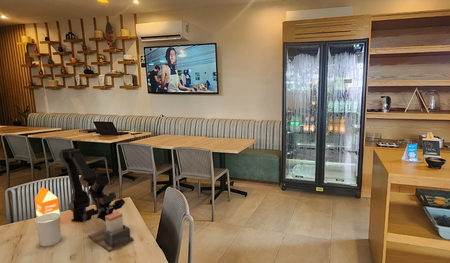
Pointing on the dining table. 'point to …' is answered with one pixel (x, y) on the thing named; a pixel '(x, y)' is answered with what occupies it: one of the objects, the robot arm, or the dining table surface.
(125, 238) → the switch base
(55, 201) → the orange juice
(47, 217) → the white cup
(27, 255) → the dining table surface
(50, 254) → the dining table surface
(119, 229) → the switch lever
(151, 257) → the dining table surface
